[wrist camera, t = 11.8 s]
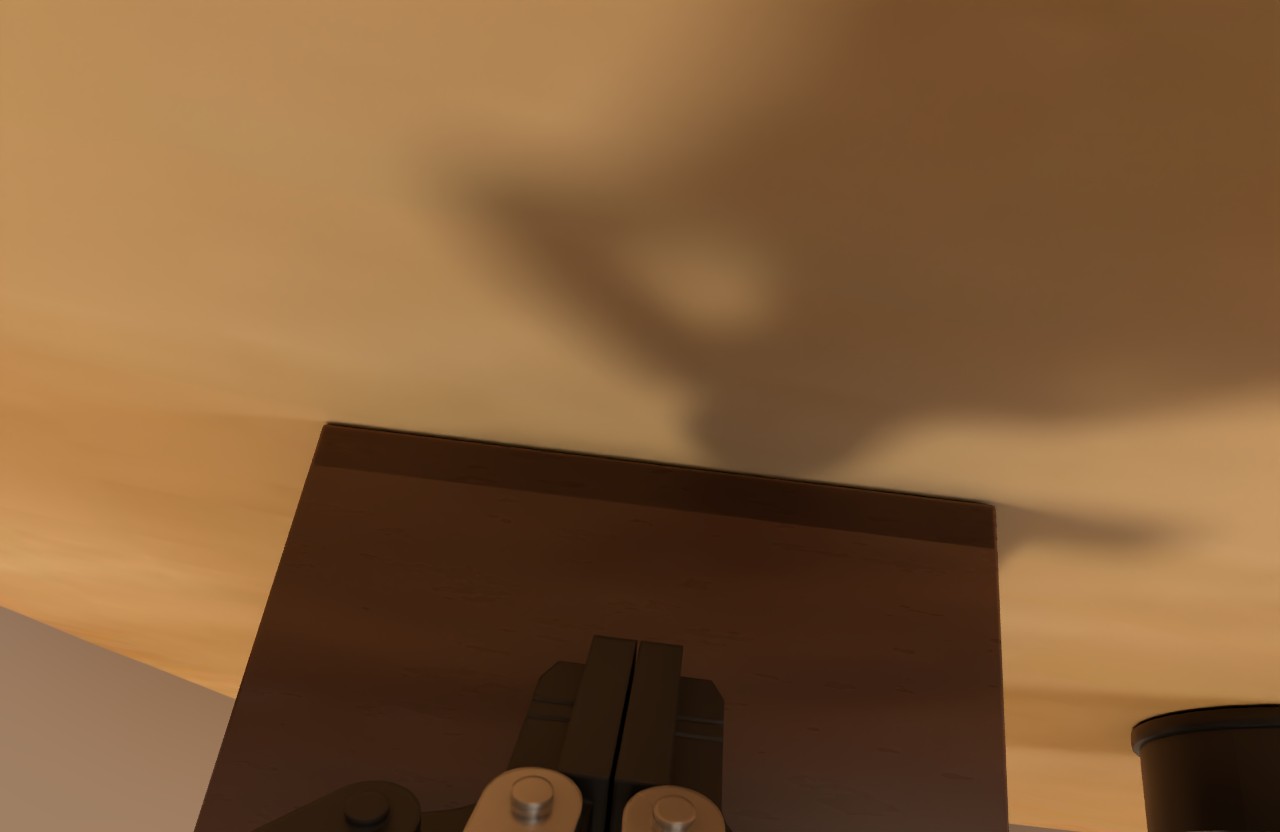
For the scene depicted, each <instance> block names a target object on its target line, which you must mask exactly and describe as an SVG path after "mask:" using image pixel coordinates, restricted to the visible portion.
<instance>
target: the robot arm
mask: <svg viewBox="0 0 1280 832" xmlns="http://www.w3.org/2000/svg"><path fill="white" fill-rule="evenodd" d="M636 653H637V640H632V639H624V638H616V637H609V636H601V635H594V636H593V640H592V643H591V647H590V650H589V654H588V657H587V661H586V664H580V663H572V662H564V661H558V662H556V663H555V664H554V665H553V666H552V667H551V668H549V669H548V670H547V671H546V672H545V673H544V674H542V675H541V676H540V677H539V680H538V683H537V686H536V689H535V691H534V694H533V698H532V701H531V703H530V705H529V708H528V711H527V716H526V717H525V719H524V722H523V725H522V728H521V731H520V733H519V736H518V739H517V742H516V745H515V747H514V750H513V753H512V756H511V759H510V761H509V764H508V767H507V770H506V772H504V773H502V774H500V775H498V776H497V777H495V778H494V779H492V780H491V781H490V782H489V783H488V784H487V786H486V787H485V789H484V790H483V792H482V794H481V796H480V798H479V800H478V802H475V803H473V804H470V805H468V806H464V807H460V808H455V809H448V810H439V811H429V812H421V807H420V803H419V801H418V799H417V797H416V796H415V795H414V794H413V793H412V792H411V791H410V790H408V789H407V788H405V787H403V786H401V785H399V784H396V783H392V782H387V781H376V780H374V781H363V782H357V783H353V784H350V785H347V786H344V787H342V788H339V789H337V790H335V791H333V792H331V793H329V794H327V795H325V796H323V797H321V798H319V799H317V800H315V801H312V802H310V803H308V804H306V805H304V806H302V807H300V808H298V809H296V810H294V811H292V812H290V813H288V814H286V815H283V816H281V817H279V818H277V819H275V820H273V821H271V822H269V823H267V824H265V825H263V826H261V827H259V828H256V829H254V830H252V831H250V832H732V830H731V829H730V828H729V826H728V825H727V823H726V821H725V819H724V816H723V813H722V774H723V737H724V699H723V697H722V696H721V694H720V692H719V691H718V689H717V687H716V686H715V684H714V683H713V681H712V680H705V679H698V678H690V677H682V676H680V675H681V665H682V656H683V646H681V645H673V644H665V643H657V642H649V641H641V642H640V646H639V652H638V657H637V662H636ZM635 664H636V668H635Z"/></svg>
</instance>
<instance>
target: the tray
mask: <svg viewBox="0 0 1280 832" xmlns="http://www.w3.org/2000/svg"><path fill="white" fill-rule="evenodd" d="M594 635H601V636H609V637H616V638H624V639H632V640H637V653H636V662H637V657H638V652H639V646H640V642H641V641H649V642H657V643H665V644H673V645H681V646H683V656H682V665H681V675H680V676H682V677H690V678H698V679H705V680H712V681H713V683H714V684H715V686H716V687H717V689H718V691H719V692H720V694H721V696H722V697H723V699H724V737H723V774H722V813H723V816H724V819H725V821H726V823H727V825H728V826H729V828H730V829H731V830H732V832H1009V822H1008V797H1007V773H1006V748H1005V723H1004V698H1003V674H1002V649H1001V624H1000V600H999V575H998V550H997V525H996V509H995V506H992V505H985V504H977V503H968V502H960V501H952V500H944V499H935V498H927V497H919V496H911V495H902V494H894V493H886V492H878V491H870V490H861V489H853V488H845V487H837V486H828V485H820V484H812V483H804V482H795V481H787V480H779V479H771V478H762V477H754V476H746V475H738V474H729V473H721V472H713V471H705V470H696V469H688V468H680V467H672V466H663V465H655V464H647V463H639V462H630V461H622V460H614V459H606V458H597V457H589V456H581V455H573V454H564V453H556V452H548V451H540V450H532V449H523V448H515V447H507V446H499V445H490V444H482V443H474V442H466V441H457V440H449V439H441V438H433V437H424V436H416V435H408V434H400V433H391V432H383V431H375V430H367V429H358V428H350V427H342V426H334V425H324V426H323V428H322V431H321V434H320V437H319V441H318V444H317V447H316V450H315V453H314V456H313V459H312V463H311V466H310V469H309V472H308V475H307V478H306V481H305V484H304V488H303V491H302V494H301V497H300V500H299V503H298V506H297V510H296V513H295V516H294V519H293V522H292V525H291V528H290V531H289V535H288V538H287V541H286V544H285V547H284V550H283V553H282V557H281V560H280V563H279V566H278V569H277V572H276V575H275V579H274V582H273V585H272V588H271V591H270V594H269V597H268V600H267V604H266V607H265V610H264V613H263V616H262V619H261V622H260V626H259V629H258V632H257V635H256V638H255V641H254V644H253V647H252V651H251V654H250V657H249V660H248V663H247V666H246V669H245V673H244V676H243V679H242V682H241V685H240V688H239V691H238V695H237V698H236V701H235V704H234V707H233V710H232V713H231V716H230V720H229V723H228V726H227V729H226V732H225V735H224V738H223V742H222V745H221V748H220V751H219V754H218V758H217V761H216V763H215V767H214V770H213V773H212V776H211V779H210V782H209V786H208V789H207V792H206V795H205V798H204V802H203V805H202V808H201V810H200V814H199V817H198V820H197V823H196V826H195V829H194V832H250V831H252V830H254V829H256V828H259V827H261V826H263V825H265V824H267V823H269V822H271V821H273V820H275V819H277V818H279V817H281V816H283V815H286V814H288V813H290V812H292V811H294V810H296V809H298V808H300V807H302V806H304V805H306V804H308V803H310V802H312V801H315V800H317V799H319V798H321V797H323V796H325V795H327V794H329V793H331V792H333V791H335V790H337V789H339V788H342V787H344V786H347V785H350V784H353V783H357V782H363V781H374V780H376V781H387V782H392V783H396V784H399V785H401V786H403V787H405V788H407V789H408V790H410V791H411V792H412V793H413V794H414V795H415V796H416V797H417V799H418V801H419V803H420V807H421V812H429V811H439V810H448V809H455V808H460V807H464V806H468V805H470V804H473V803H475V802H478V800H479V798H480V796H481V794H482V792H483V790H484V789H485V787H486V786H487V784H488V783H489V782H490V781H491V780H492V779H494V778H495V777H497V776H498V775H500V774H502V773H504V772H506V770H507V767H508V764H509V761H510V759H511V756H512V753H513V750H514V747H515V745H516V742H517V739H518V736H519V733H520V731H521V728H522V725H523V722H524V719H525V717H526V716H527V711H528V708H529V705H530V703H531V701H532V698H533V694H534V691H535V689H536V686H537V683H538V680H539V677H540V676H541V675H542V674H544V673H545V672H546V671H547V670H548V669H549V668H551V667H552V666H553V665H554V664H555V663H556V662H558V661H564V662H572V663H580V664H586V661H587V657H588V654H589V650H590V647H591V643H592V640H593V636H594ZM635 668H636V664H635Z"/></svg>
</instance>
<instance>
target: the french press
mask: <svg viewBox="0 0 1280 832" xmlns="http://www.w3.org/2000/svg"><path fill="white" fill-rule="evenodd" d="M1131 745H1132V749H1133V751H1134V752H1135V753H1136V754H1137V755H1138V756H1139V757H1140V761H1141V770H1142V780H1143V790H1144V800H1145V809H1146V819H1147V829H1148V832H1280V707H1250V708H1227V709H1216V710H1205V711H1195V712H1188V713H1182V714H1175V715H1170V716H1166V717H1161V718H1157V719H1153V720H1150V721H1147V722H1145V723H1143V724H1140V725H1138V726H1137V727H1136V728H1135V729H1133V730H1132V733H1131Z"/></svg>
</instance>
